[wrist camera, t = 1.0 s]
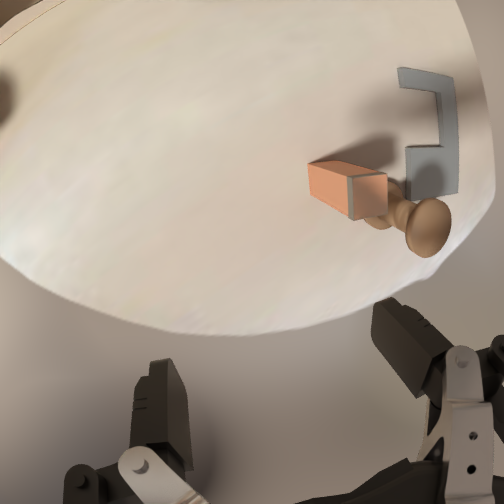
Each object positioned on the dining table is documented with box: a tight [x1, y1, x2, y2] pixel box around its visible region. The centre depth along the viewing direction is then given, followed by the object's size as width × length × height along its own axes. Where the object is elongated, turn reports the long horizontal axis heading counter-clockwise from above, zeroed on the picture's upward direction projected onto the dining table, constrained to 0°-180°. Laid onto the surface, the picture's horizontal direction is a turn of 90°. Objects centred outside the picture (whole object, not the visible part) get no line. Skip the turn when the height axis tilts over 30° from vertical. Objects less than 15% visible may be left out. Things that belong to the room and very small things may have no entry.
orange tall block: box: [307, 160, 388, 221], centre depth 30 cm, size 4×4×11 cm
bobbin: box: [364, 181, 451, 258], centre depth 33 cm, size 7×7×11 cm
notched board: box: [397, 68, 459, 201], centre depth 35 cm, size 20×12×1 cm, turn 9°
